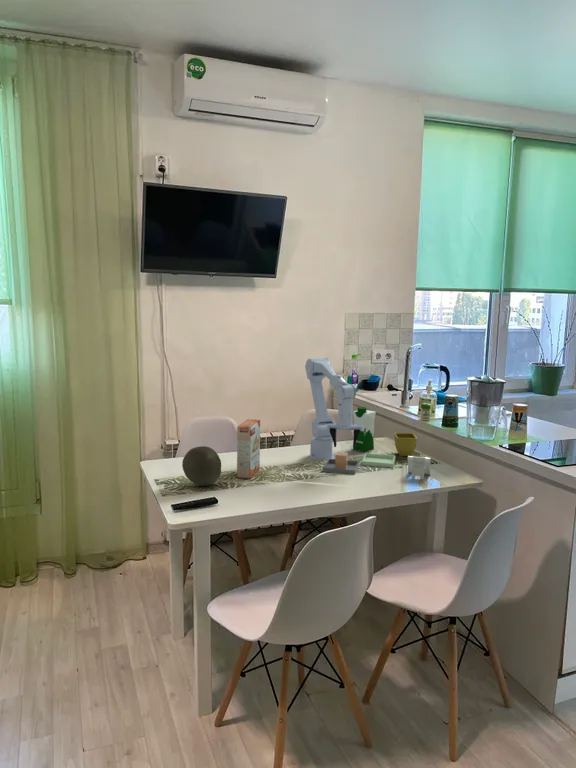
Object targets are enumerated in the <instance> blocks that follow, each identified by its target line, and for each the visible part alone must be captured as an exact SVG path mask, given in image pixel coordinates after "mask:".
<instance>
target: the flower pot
mask: <svg viewBox="0 0 576 768" xmlns="http://www.w3.org/2000/svg"><path fill="white" fill-rule="evenodd" d="M393 435H394V446H395V449H396V452H397V453H398V456H400V457H408V456H413V454H414V453H415V450H416V446H417V441H418V440H417V439H418V437H417V436H416V435H415V434H414V432H412V433H411V432H408V433H407V432H394V433H393Z"/></svg>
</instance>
